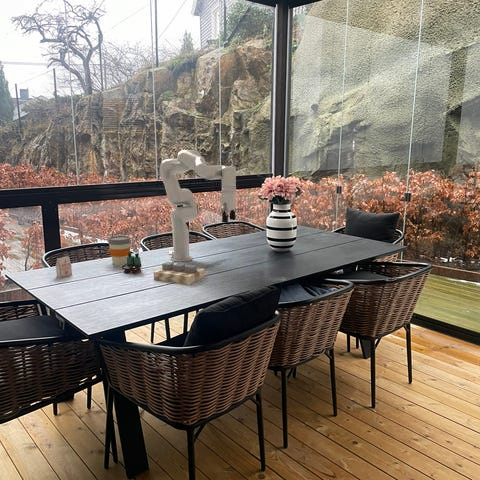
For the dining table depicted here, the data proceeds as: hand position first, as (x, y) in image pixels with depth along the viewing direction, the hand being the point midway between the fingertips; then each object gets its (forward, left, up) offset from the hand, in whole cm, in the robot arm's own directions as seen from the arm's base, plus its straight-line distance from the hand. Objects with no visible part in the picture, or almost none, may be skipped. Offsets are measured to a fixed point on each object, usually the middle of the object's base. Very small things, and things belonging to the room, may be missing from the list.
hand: (228, 221), depth 262 cm
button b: (-17, -25, -24) cm, 39 cm away
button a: (-24, -25, -24) cm, 42 cm away
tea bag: (-75, -47, -28) cm, 92 cm away
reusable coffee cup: (-65, -13, -28) cm, 71 cm away
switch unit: (-17, -25, -27) cm, 41 cm away
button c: (-10, -25, -24) cm, 36 cm away
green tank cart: (-46, -27, -28) cm, 60 cm away
